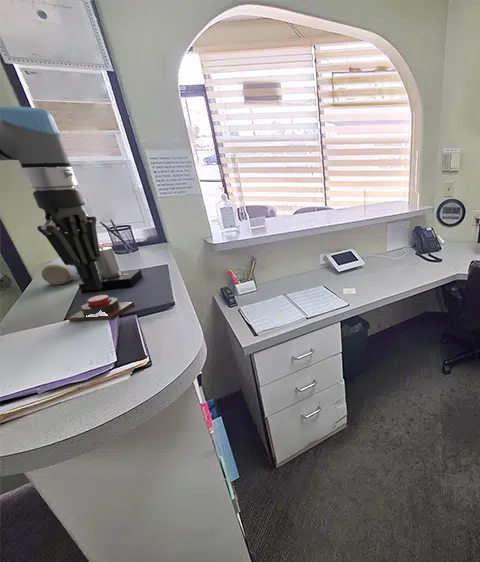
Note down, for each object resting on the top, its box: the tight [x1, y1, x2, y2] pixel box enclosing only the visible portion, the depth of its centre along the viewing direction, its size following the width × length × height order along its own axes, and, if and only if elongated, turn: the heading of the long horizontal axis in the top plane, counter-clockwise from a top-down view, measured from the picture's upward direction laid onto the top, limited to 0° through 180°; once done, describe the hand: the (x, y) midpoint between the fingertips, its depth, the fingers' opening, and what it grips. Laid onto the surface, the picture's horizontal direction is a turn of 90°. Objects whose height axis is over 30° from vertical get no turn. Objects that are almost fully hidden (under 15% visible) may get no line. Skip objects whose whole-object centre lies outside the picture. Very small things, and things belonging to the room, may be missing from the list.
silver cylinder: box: [95, 245, 121, 279], centre depth 97 cm, size 5×5×9 cm
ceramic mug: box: [41, 257, 83, 286], centre depth 103 cm, size 11×8×8 cm
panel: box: [78, 268, 144, 294], centre depth 99 cm, size 13×10×3 cm
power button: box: [86, 294, 110, 307], centre depth 77 cm, size 4×4×2 cm
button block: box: [67, 296, 136, 323], centre depth 78 cm, size 10×8×4 cm
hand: (94, 288), depth 75 cm, fingers closed
